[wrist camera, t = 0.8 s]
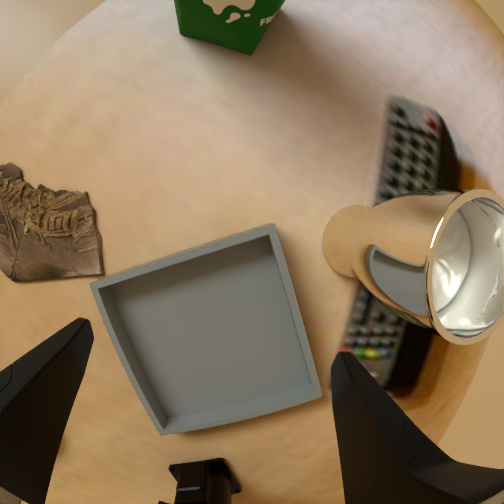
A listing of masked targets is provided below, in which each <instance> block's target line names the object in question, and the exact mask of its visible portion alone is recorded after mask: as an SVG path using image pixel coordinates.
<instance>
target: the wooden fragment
mask: <svg viewBox="0 0 504 504" xmlns="http://www.w3.org/2000/svg"><path fill="white" fill-rule="evenodd" d="M0 270H1V271H2V272H3V273H4V274H5V275H6V276H7V277H8V278H10V277H11V276H10V275H11V273H13V275H12V279H11V278H10V279H11V280H12V281H18V280H19V281H23V280H35V279H46V278H60V277H68V276H69V277H70V276H71V277H72V276H75V275H76V276H80V275H90V274H92V275H93V274H105V273H104V268H103V257H102V237H101V234H100V232H99V231H98V229H97V228H96V223H95V211H94V209H93V207H91V205H90V204H89V199H88V194H87V192H86V191H85V192H83V193H80V192H78V191H75V192H68V191H66V190H58V191H57V192H54V191H53V190H50V189H49V188H45V187H44V186H43V185H41V184H40V185H39V186H38V188H37V189H36V190H35V189H34V188H33V187H31V185H30V184H29V183H27V182H25V181H23V177H22V173H21V172H20V169H19V168H18V167H17V166H16V165H14V164H12V163H10V162H9V163H8V164H6V165H1V166H0Z"/></svg>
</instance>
